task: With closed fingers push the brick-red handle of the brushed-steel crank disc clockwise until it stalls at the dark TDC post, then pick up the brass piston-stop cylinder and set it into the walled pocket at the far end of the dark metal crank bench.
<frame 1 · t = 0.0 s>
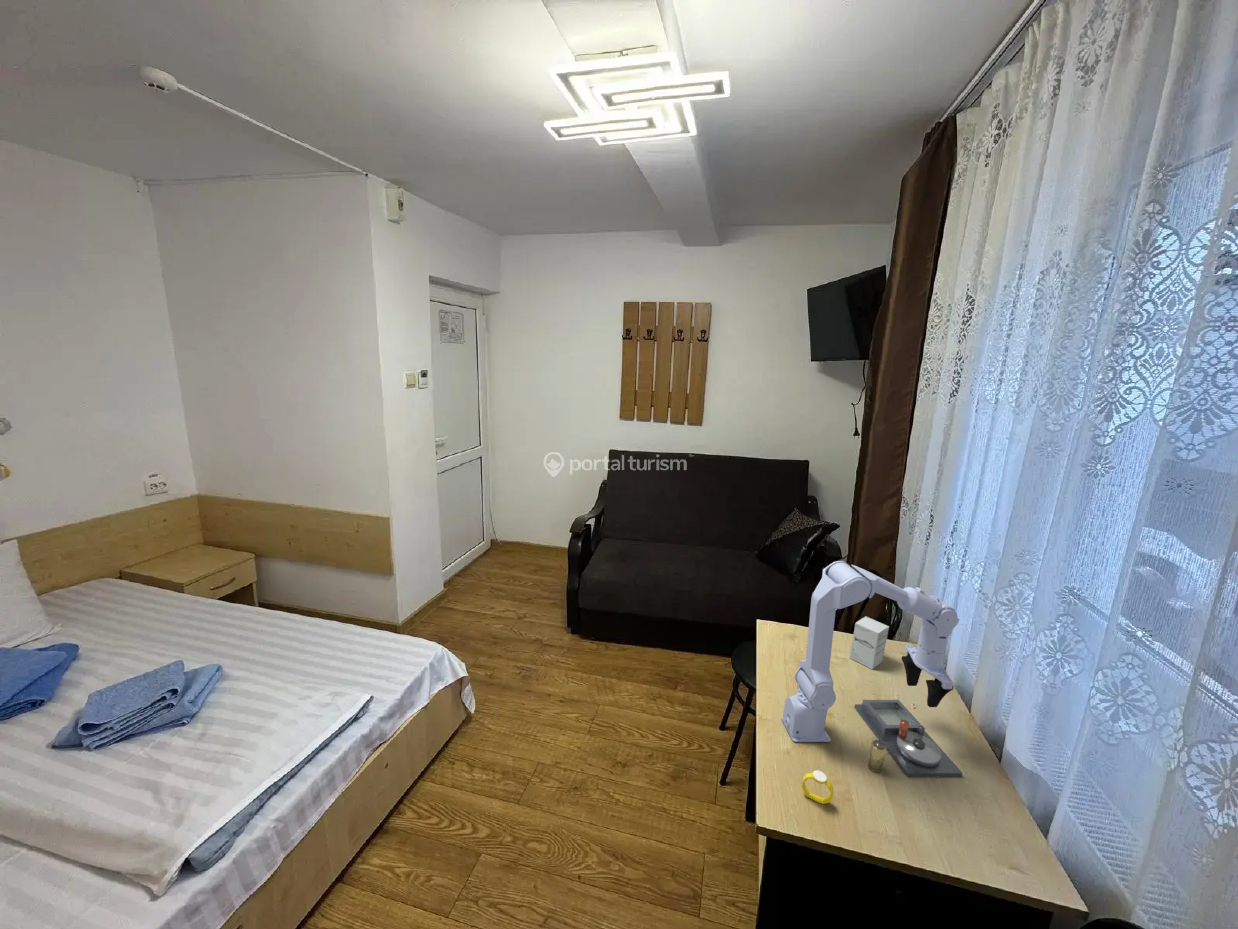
hand: (921, 695, 119), 10 cm above the table, fingers open, 7 cm apart
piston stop: (874, 768, 109), on the table
crank bench: (903, 739, 118), on the table
supplement box: (865, 660, 150), on the table
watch: (815, 799, 101), on the table
crank: (919, 741, 112), point 4 cm above the table, hinge at 130.0°
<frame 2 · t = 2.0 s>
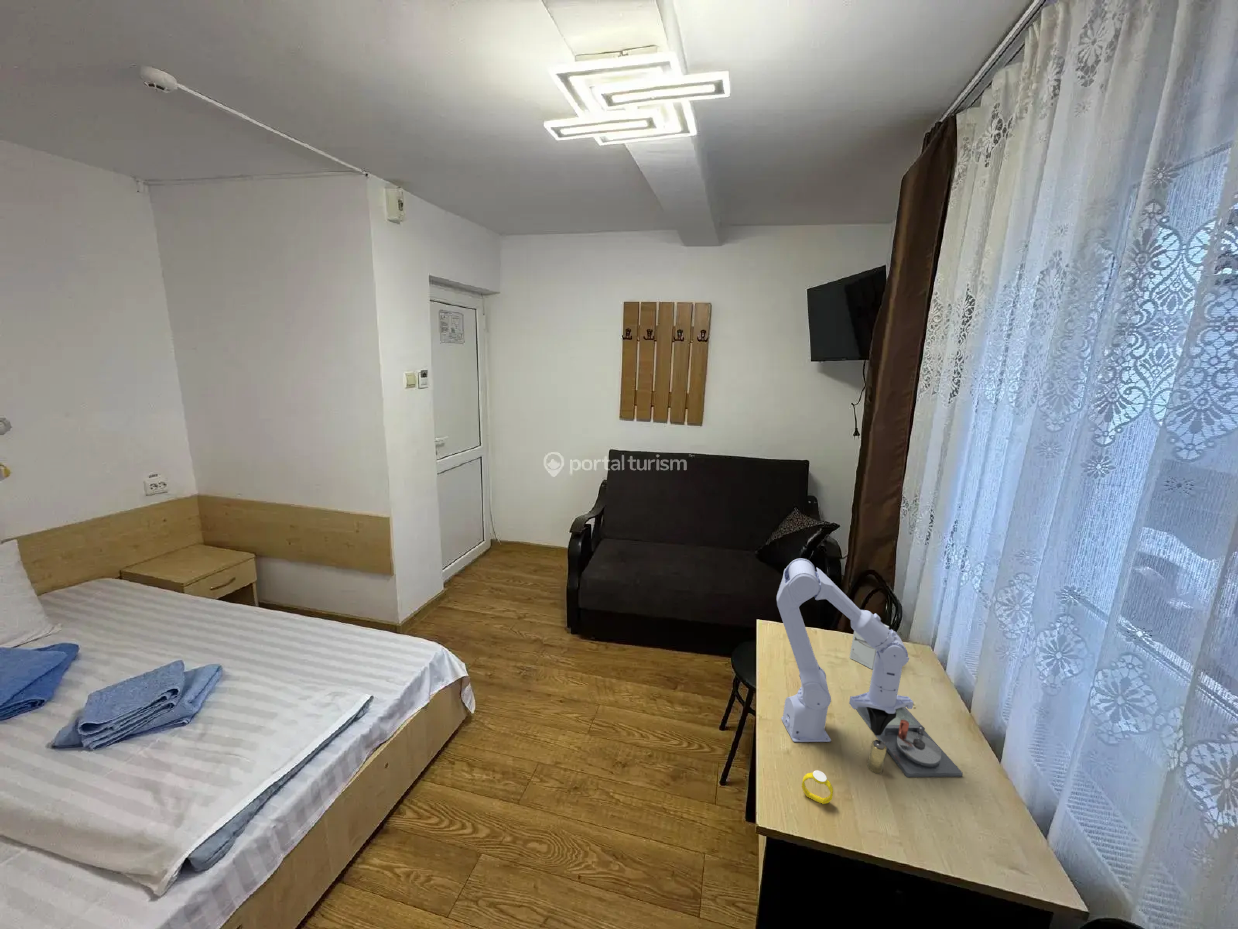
hand: (875, 732, 115), 4 cm above the table, fingers closed
nothing on the table moved.
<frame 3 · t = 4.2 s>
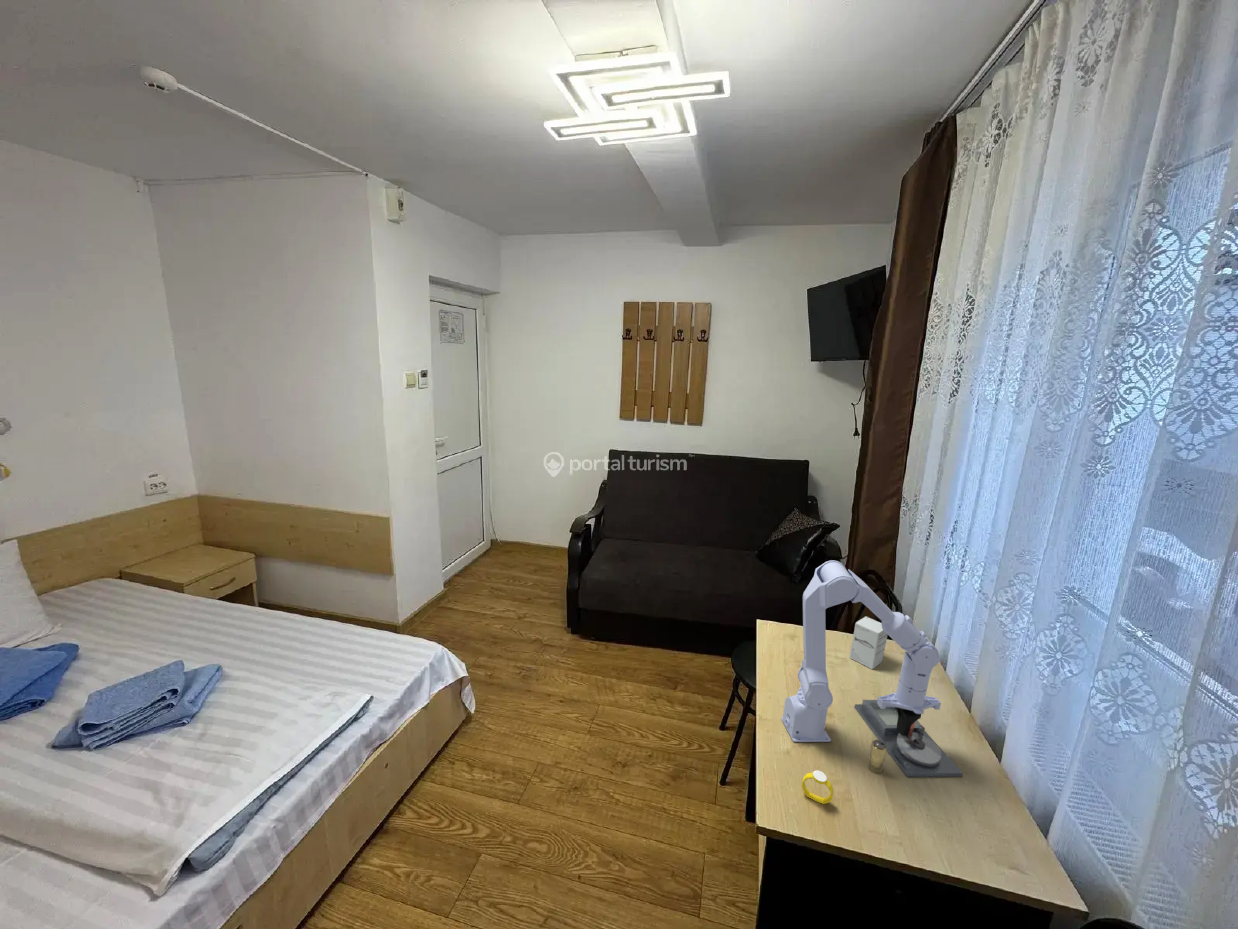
hand: (902, 732, 116), 3 cm above the table, fingers closed, pressing on crank
crank: (919, 741, 112), point 4 cm above the table, hinge at 93.5°, touching gripper
everything else where it was.
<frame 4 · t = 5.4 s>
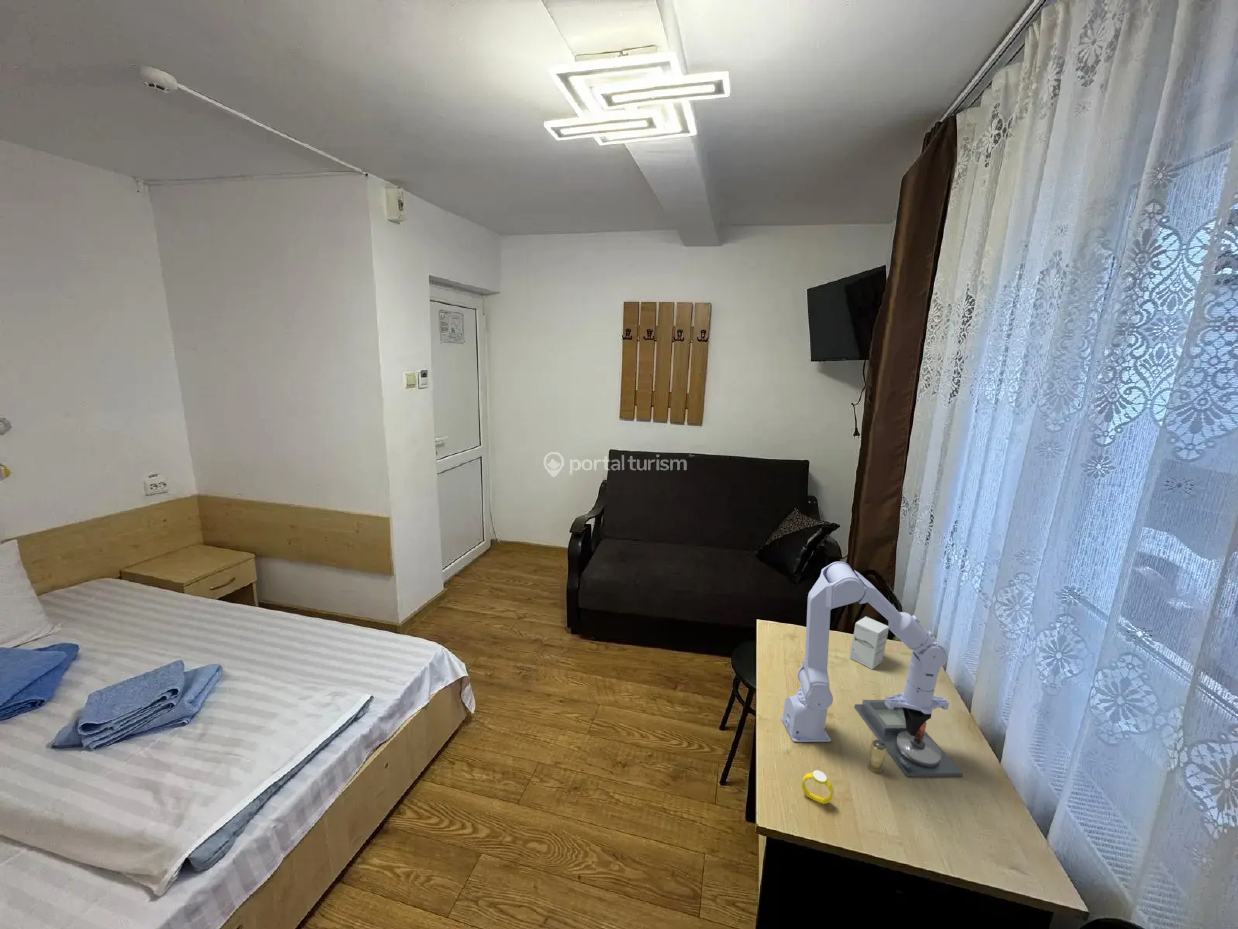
hand: (910, 732, 115), 4 cm above the table, fingers closed
crank: (919, 741, 112), point 4 cm above the table, hinge at 53.9°, touching gripper
everything else where it was.
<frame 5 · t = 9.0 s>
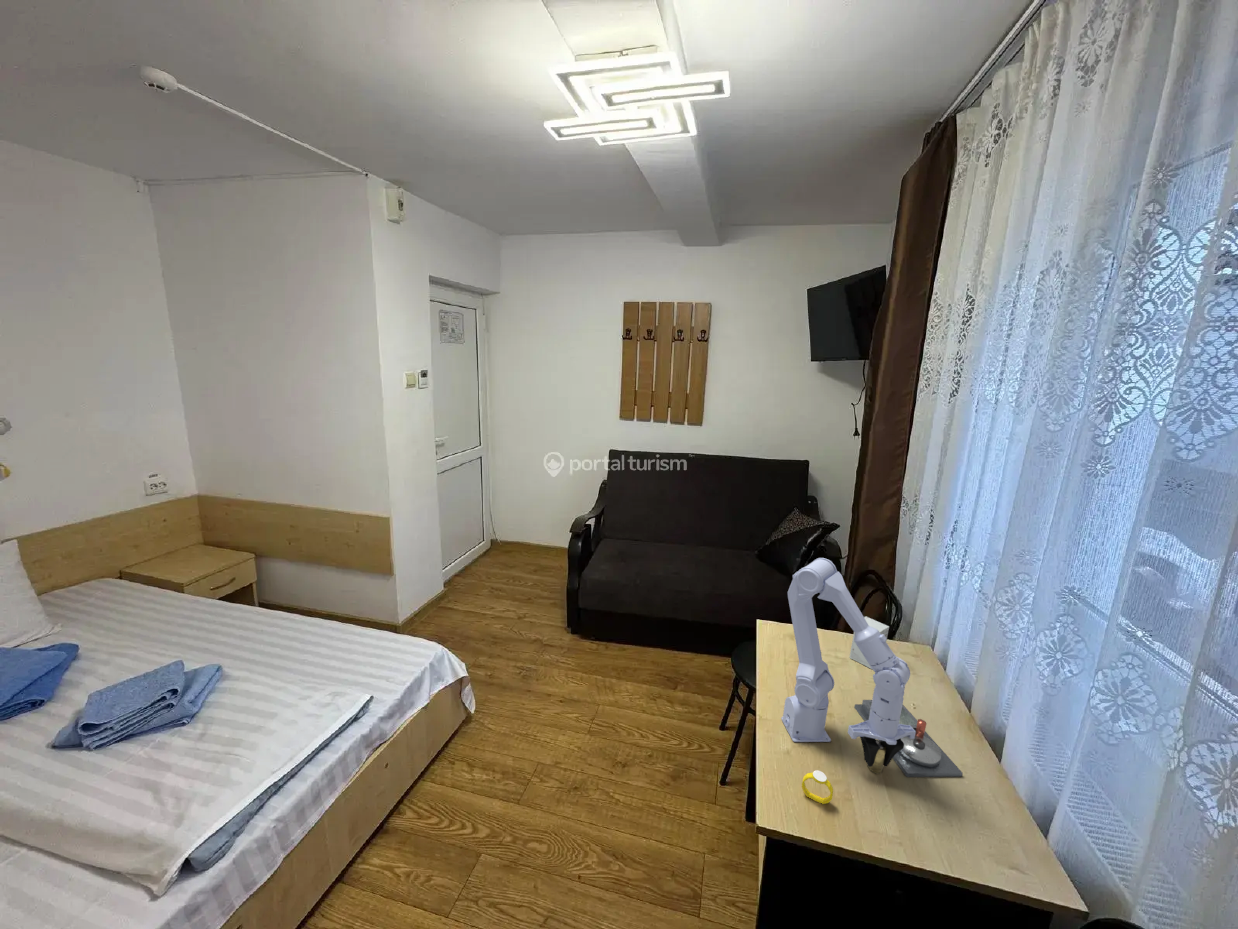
hand: (875, 763, 109), 1 cm above the table, fingers closed on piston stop, 3 cm apart
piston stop: (874, 768, 109), on the table, touching gripper
crank: (919, 741, 112), point 4 cm above the table, hinge at 53.8°
everything else where it was.
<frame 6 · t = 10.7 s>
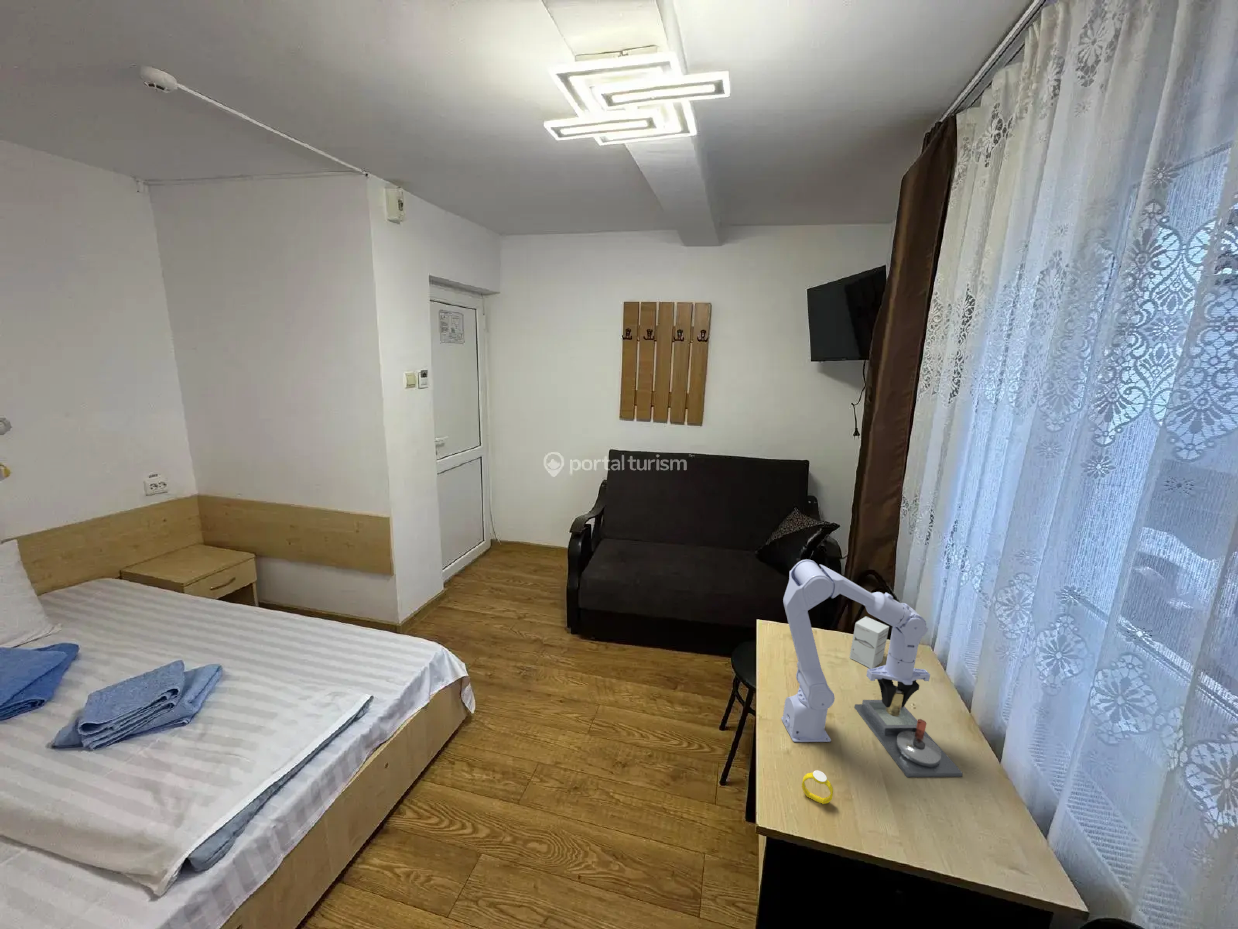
hand: (892, 704, 117), 9 cm above the table, fingers closed on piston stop, 3 cm apart
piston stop: (892, 712, 117), point 7 cm above the table, touching gripper
everything else where it was.
when the fingers open (4 cm above the table, at t = 12.4 s): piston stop stays where it is, resting on crank bench.
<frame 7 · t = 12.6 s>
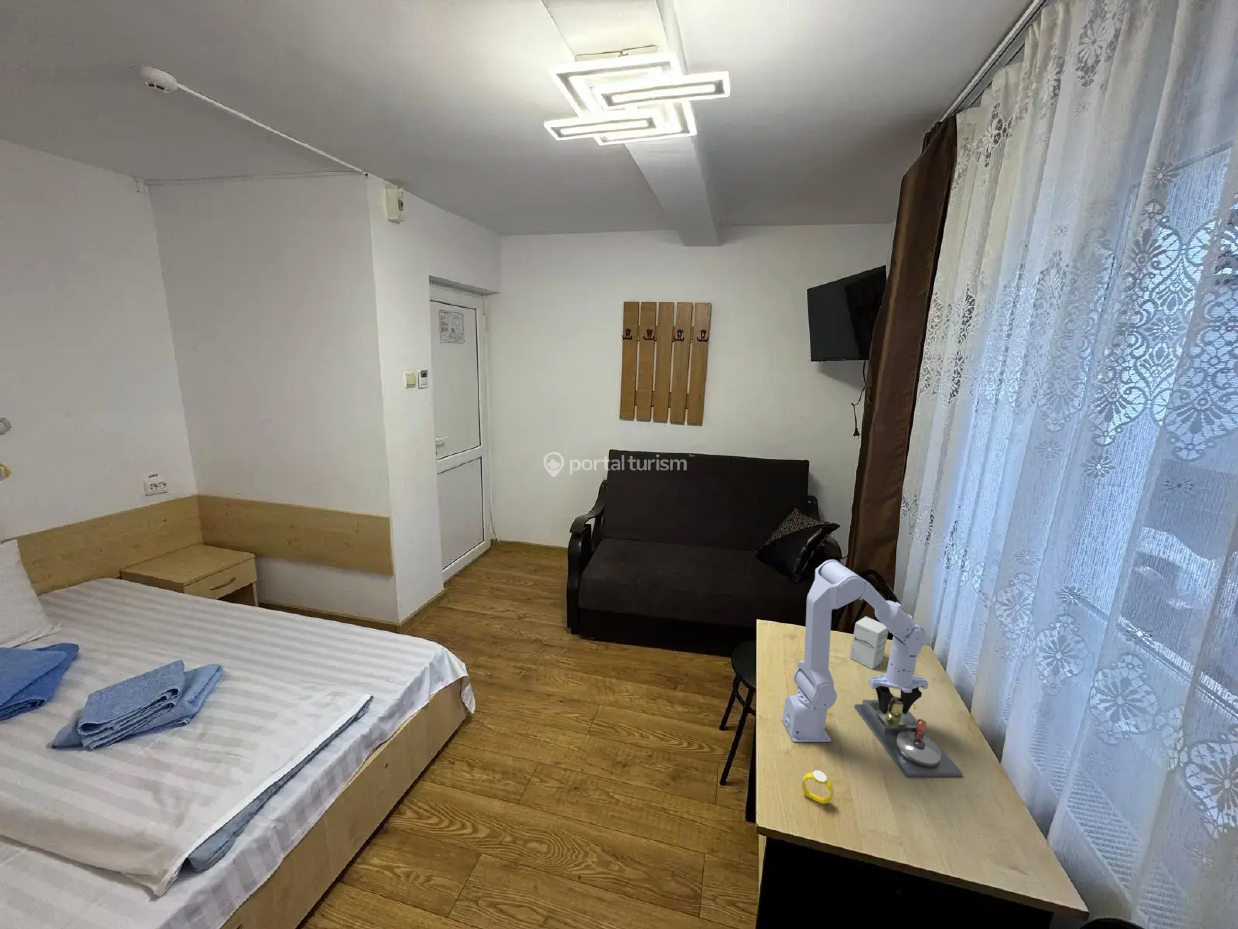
hand: (892, 711, 122), 4 cm above the table, fingers open, 5 cm apart
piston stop: (892, 721, 122), point 1 cm above the table, touching crank bench
everything else where it was.
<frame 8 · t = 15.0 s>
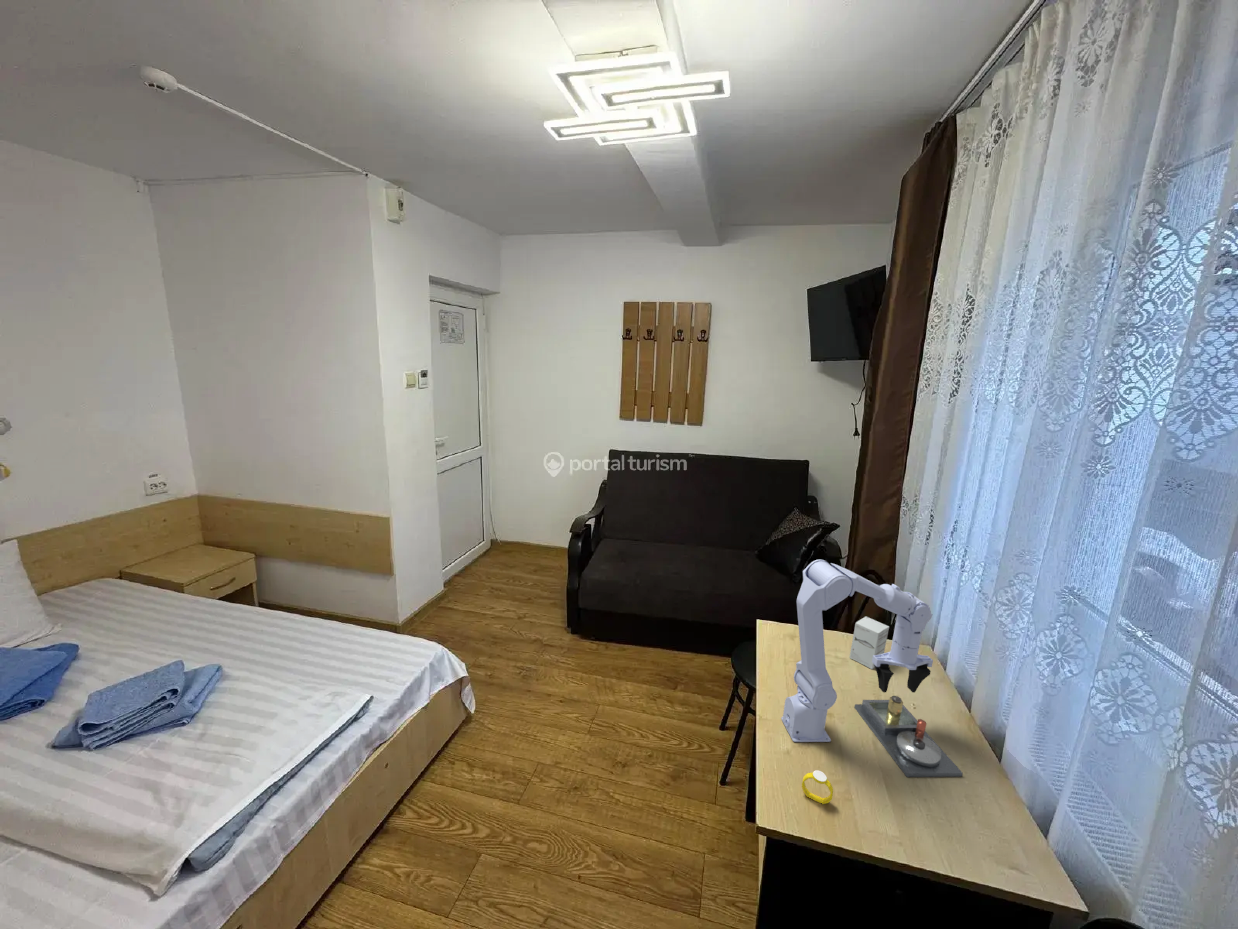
hand: (896, 689, 121), 10 cm above the table, fingers open, 7 cm apart
nothing on the table moved.
at the end: crank at +54° (first picture: +130°); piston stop inside the target area on the crank bench (0.5 cm from its centre), point 1.1 cm above the crank bench's base; the gripper is holding nothing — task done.
